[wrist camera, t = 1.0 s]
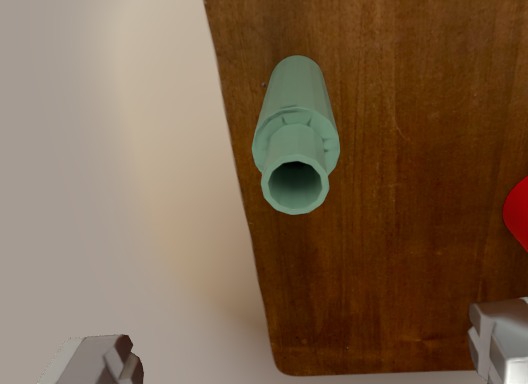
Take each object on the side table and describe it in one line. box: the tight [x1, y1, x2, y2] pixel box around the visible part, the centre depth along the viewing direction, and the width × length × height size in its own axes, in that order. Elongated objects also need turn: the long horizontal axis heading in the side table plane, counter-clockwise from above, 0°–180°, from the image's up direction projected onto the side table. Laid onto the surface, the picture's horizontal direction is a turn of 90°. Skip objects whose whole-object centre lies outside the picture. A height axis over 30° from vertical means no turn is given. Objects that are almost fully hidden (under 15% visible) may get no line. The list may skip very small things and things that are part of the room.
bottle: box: [252, 55, 340, 215], centre depth 25 cm, size 4×4×19 cm
